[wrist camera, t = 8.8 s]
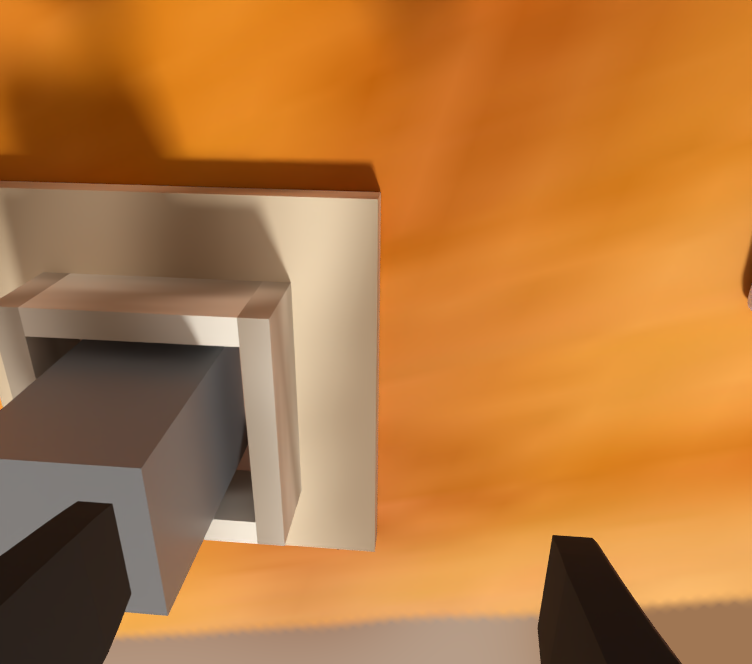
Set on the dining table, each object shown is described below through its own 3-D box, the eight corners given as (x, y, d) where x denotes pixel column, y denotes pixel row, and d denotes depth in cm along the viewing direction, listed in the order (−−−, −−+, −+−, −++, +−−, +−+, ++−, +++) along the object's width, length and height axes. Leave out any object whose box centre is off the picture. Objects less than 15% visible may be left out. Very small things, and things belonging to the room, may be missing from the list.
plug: (237, 328, 18) (141, 468, 13) (247, 444, 20) (167, 615, 14) (102, 322, 19) (-52, 455, 13) (124, 436, 20) (-4, 600, 15)
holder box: (380, 192, 17) (367, 225, 14) (376, 535, 22) (366, 612, 19) (-40, 179, 18) (-133, 209, 15) (48, 511, 23) (-9, 580, 20)
